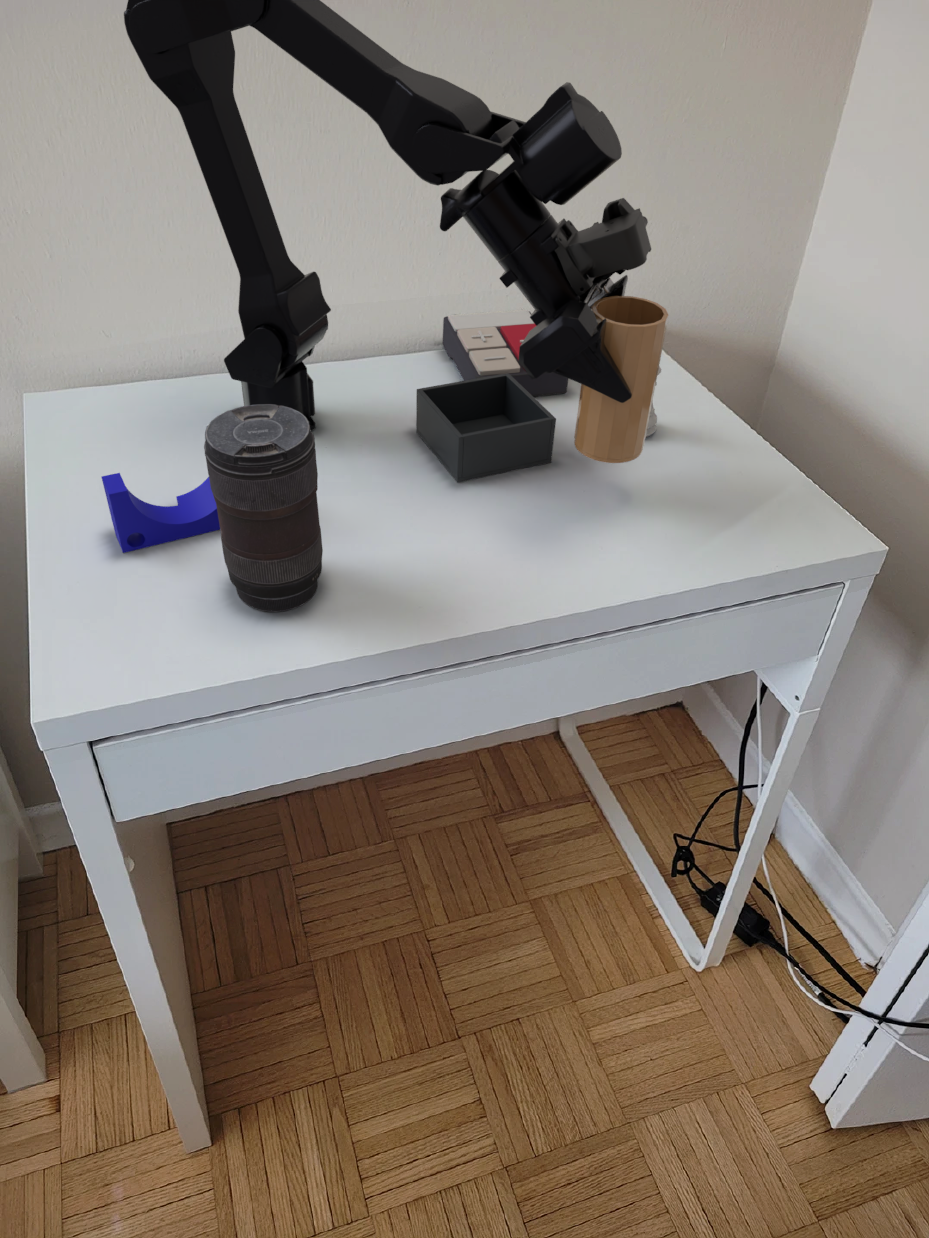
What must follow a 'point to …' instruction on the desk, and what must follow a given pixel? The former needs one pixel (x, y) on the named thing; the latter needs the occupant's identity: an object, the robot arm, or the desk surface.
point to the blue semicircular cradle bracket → (158, 515)
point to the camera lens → (266, 503)
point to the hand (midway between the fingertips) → (634, 383)
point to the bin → (484, 426)
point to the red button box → (495, 348)
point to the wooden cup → (637, 353)
